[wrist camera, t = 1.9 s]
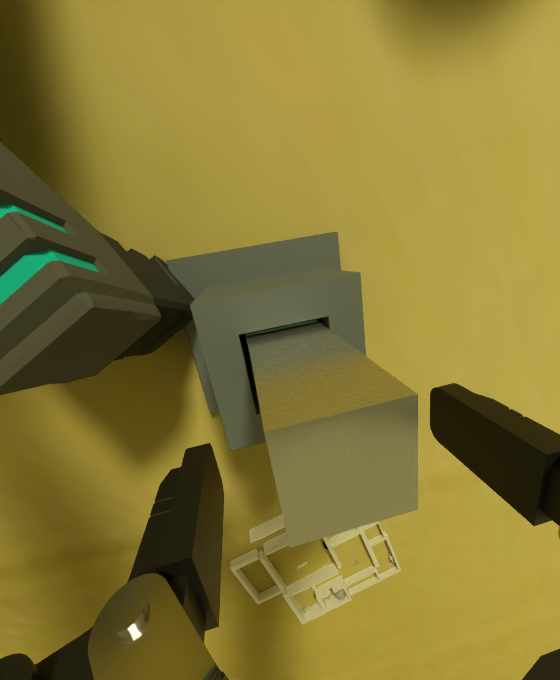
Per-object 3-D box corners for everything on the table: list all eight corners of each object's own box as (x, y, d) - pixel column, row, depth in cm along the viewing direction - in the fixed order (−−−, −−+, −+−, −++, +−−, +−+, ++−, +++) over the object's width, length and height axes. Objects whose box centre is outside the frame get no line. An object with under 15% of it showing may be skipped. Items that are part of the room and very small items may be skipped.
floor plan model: (171, 563, 32) (167, 582, 30) (360, 471, 32) (368, 484, 31) (239, 639, 38) (240, 659, 36) (396, 561, 39) (404, 576, 37)
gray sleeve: (169, 260, 22) (119, 262, 12) (333, 232, 23) (402, 214, 14) (211, 408, 26) (199, 493, 17) (346, 376, 27) (406, 437, 18)
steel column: (241, 311, 22) (261, 431, 7) (292, 301, 22) (419, 392, 7) (251, 359, 23) (288, 550, 8) (299, 349, 24) (419, 510, 8)
